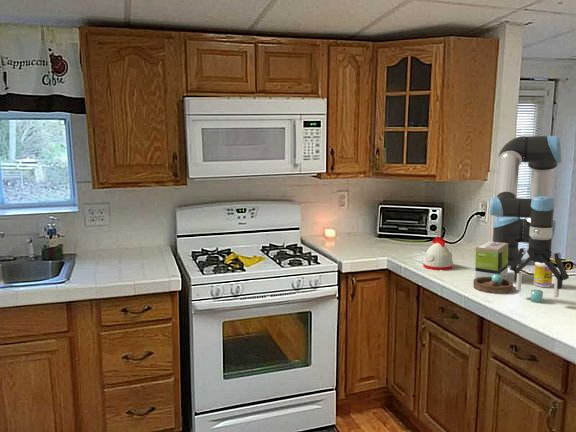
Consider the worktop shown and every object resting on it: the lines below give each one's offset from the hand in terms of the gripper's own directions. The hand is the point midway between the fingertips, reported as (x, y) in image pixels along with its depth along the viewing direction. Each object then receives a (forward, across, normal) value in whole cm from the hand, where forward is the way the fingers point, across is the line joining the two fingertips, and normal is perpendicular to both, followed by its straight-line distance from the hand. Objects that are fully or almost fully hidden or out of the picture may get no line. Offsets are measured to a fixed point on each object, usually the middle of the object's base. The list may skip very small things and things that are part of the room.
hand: (536, 293), depth 184 cm
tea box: (+3, -27, +20) cm, 34 cm away
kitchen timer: (+3, -53, +19) cm, 57 cm away
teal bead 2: (+3, 0, 0) cm, 3 cm away
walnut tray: (+3, -19, +5) cm, 20 cm away
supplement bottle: (+3, -6, +22) cm, 23 cm away
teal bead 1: (+2, -19, +8) cm, 21 cm away
